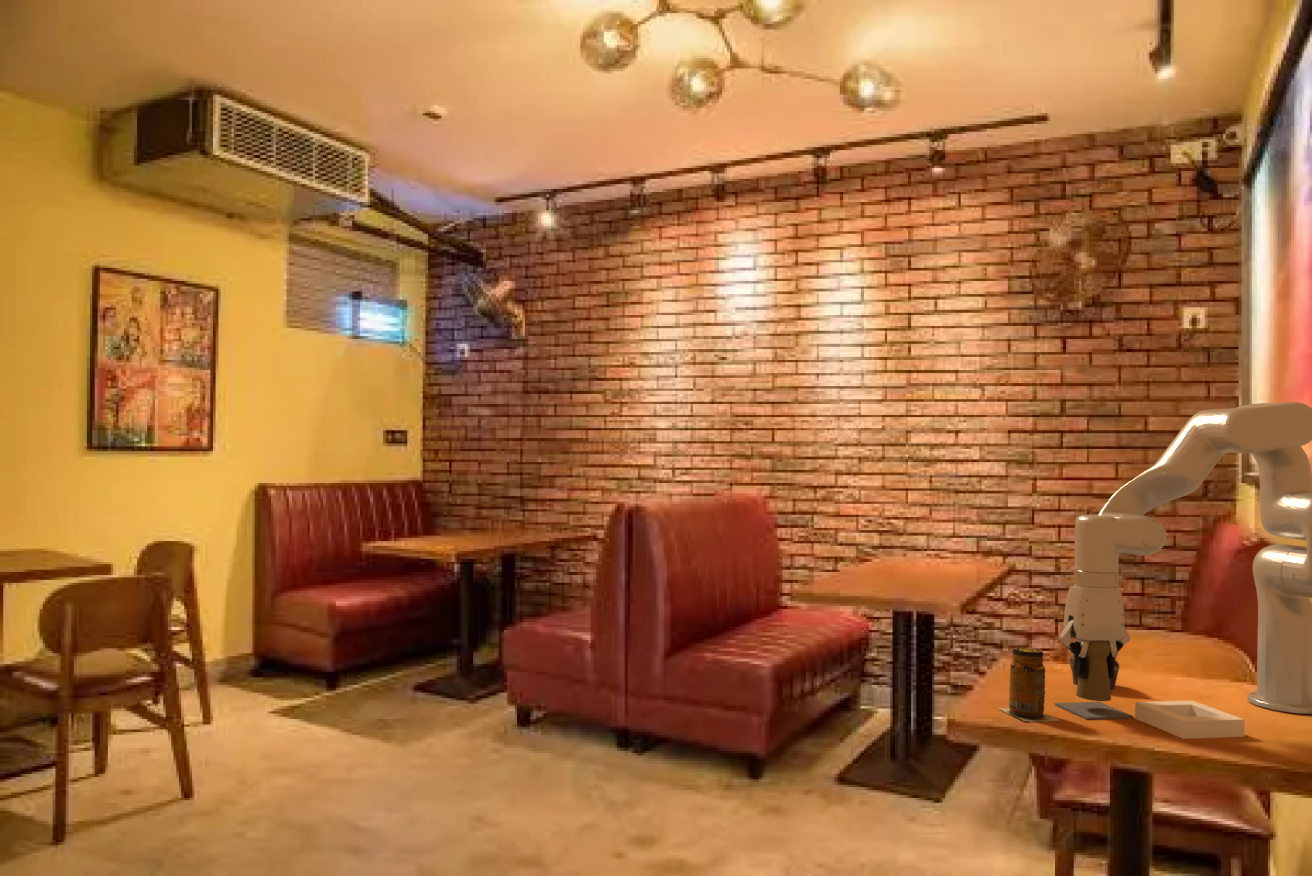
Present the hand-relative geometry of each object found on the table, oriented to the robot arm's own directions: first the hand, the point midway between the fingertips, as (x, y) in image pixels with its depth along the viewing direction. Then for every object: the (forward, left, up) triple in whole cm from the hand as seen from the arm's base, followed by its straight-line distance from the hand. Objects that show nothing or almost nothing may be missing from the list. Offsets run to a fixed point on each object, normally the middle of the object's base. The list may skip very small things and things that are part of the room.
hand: (1093, 676), depth 174 cm
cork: (0, 0, -4) cm, 4 cm away
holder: (-11, +11, -7) cm, 17 cm away
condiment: (+14, +1, -7) cm, 16 cm away
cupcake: (-13, -18, -7) cm, 23 cm away
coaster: (0, 0, -7) cm, 7 cm away
